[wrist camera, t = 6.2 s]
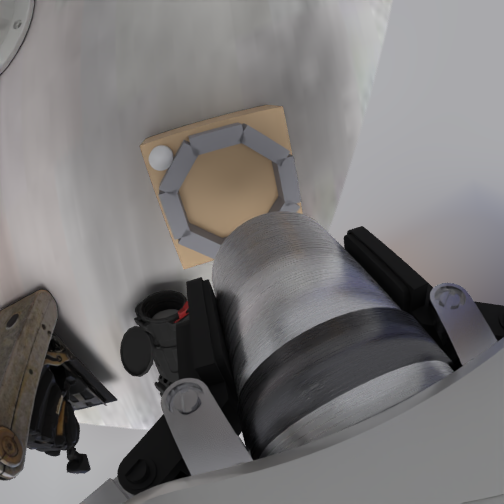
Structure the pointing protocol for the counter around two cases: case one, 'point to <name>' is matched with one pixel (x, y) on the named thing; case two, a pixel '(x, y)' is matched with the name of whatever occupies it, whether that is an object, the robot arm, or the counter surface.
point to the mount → (221, 177)
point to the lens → (312, 335)
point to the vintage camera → (40, 387)
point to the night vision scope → (155, 337)
